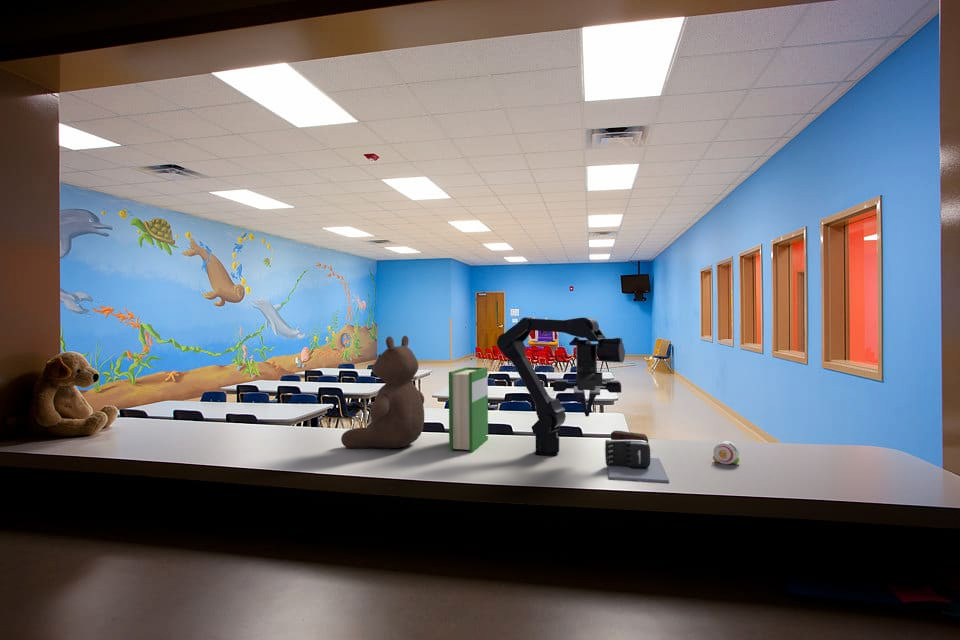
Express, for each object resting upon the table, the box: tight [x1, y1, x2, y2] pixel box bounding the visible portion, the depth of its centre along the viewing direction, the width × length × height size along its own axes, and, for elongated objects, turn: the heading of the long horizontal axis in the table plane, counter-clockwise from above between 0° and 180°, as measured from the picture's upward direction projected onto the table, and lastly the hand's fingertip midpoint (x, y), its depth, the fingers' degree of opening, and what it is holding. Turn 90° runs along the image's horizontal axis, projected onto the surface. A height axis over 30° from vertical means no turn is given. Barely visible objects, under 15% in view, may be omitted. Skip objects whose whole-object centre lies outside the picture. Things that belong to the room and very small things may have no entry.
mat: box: [607, 457, 670, 483], centre depth 131 cm, size 14×20×1 cm
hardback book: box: [448, 366, 489, 454], centre depth 159 cm, size 18×7×24 cm, turn 164°
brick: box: [610, 430, 649, 443], centre depth 154 cm, size 11×4×5 cm, turn 59°
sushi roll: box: [712, 440, 740, 465], centre depth 136 cm, size 4×6×6 cm
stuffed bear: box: [340, 335, 425, 449], centre depth 160 cm, size 29×23×35 cm
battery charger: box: [604, 439, 651, 469], centre depth 131 cm, size 7×4×11 cm
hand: (587, 416), depth 142 cm, fingers closed
